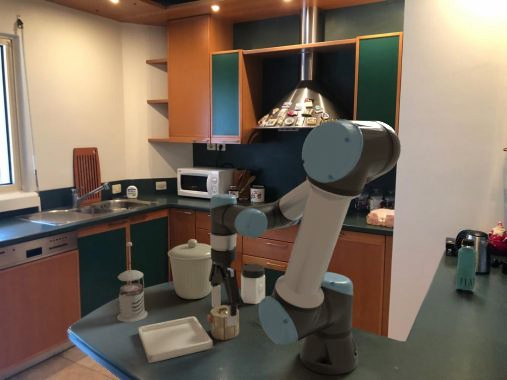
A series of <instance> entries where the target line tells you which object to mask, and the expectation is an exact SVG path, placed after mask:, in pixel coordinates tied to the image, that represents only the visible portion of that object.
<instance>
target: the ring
mask: <svg viewBox="0 0 507 380" xmlns="http://www.w3.org/2000/svg"><path fill="white" fill-rule="evenodd" d="M221 310H227V304H222V305H221V306H216V307H212V309H210V313H209V314H207V315H206V318H207V320H206V321H207V323H208V324H210V335H212V337H213V338H215V339H216V340H223V341H224V340H225V341H227V340H230V339H231V340H232V339H234V338H237V336H238V335H239V334H240V315H239V314H240V310H239V309H238V308H237V325H234V326H229V327H228V326H227V314H220V311H221Z"/></svg>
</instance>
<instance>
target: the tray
mask: <svg viewBox="0 0 507 380" xmlns="http://www.w3.org/2000/svg"><path fill="white" fill-rule="evenodd" d="M199 321H200V320H198V318H197V317H196V316H195V315H193V316H187V317H183V318H178V319H172V320H167V321H162V322H158V323H152V324H147V325H143V326H138V327H137V332H138V337H139V339H140V341H141V344H142V347H143V350H144V352H145V356H146V358H147V361H148V364H151V363H156V362H161V361H165V360H168V359H173V358H178V357H181V356H185V355H190V354H195V353H198V352H202V351H207V350H212V349H214V342H213V340H212V338H211V337H210V335H209V334H208V333H207V331H206V330H205V328H204V327H203V326H202V325H201V323H200V322H199Z"/></svg>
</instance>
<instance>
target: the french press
mask: <svg viewBox="0 0 507 380" xmlns="http://www.w3.org/2000/svg"><path fill="white" fill-rule="evenodd" d="M125 246H126V247H128V255H129V261H131V253H130V252H131V250H130V247H132V246H133V243H132V242H131V241H128V242H126V245H125ZM117 279H118V280H120V281H121V282H131V283H127V284H124V285H122V286H120V287H119V291H118V300H119V314H118V315H117V316H116V318H117V320H118V321H120V322H123V323H132V322H133V323H134V322H138V321H141V320H143V319H146V318H147V316H148V315H149V313H148V311H147V310H145V299H144V297H145V296H144V294H145V291H144V289H145V282H144V281H145V280H144V273H143V272H141V271H139V270H136V269H131V265H129V269H128V270H125V271H123V272H121V273H120V274H119V275H118V276H117ZM141 279H142V284H141V283H140V280H141ZM132 281H138V283H132Z"/></svg>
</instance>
